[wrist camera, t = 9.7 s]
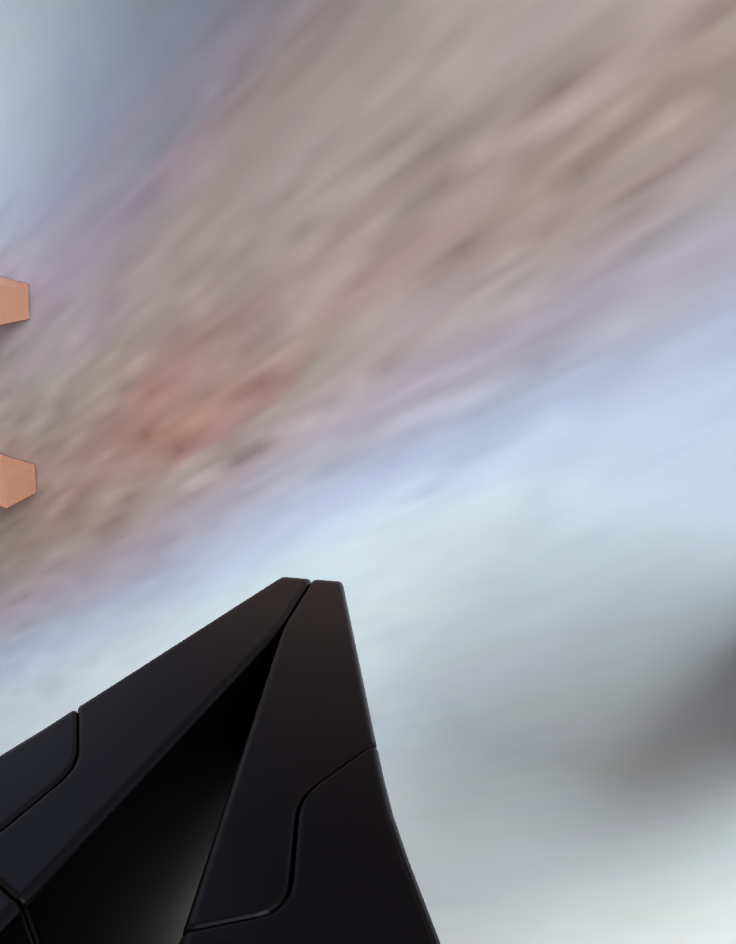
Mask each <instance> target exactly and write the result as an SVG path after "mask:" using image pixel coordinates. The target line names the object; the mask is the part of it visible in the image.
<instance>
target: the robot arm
mask: <svg viewBox="0 0 736 944" xmlns="http://www.w3.org/2000/svg"><path fill="white" fill-rule="evenodd" d="M0 944H440V941H439V939H438V936H437V934H436V931H435V928H434V926H433V923H432V921H431V918H430V915H429V913H428V910H427V908H426V905H425V902H424V900H423V897H422V895H421V892H420V889H419V887H418V884H417V882H416V879H415V876H414V874H413V871H412V869H411V866H410V863H409V861H408V858H407V855H406V852H405V849H404V846H403V843H402V840H401V837H400V834H399V831H398V828H397V825H396V822H395V819H394V816H393V813H392V809H391V805H390V801H389V797H388V794H387V790H386V786H385V782H384V778H383V773H382V768H381V763H380V759H379V754H378V751H377V749H376V741H375V736H374V731H373V727H372V722H371V717H370V712H369V707H368V703H367V698H366V693H365V688H364V683H363V679H362V674H361V669H360V664H359V659H358V655H357V650H356V645H355V640H354V636H353V631H352V626H351V621H350V616H349V612H348V607H347V602H346V597H345V592H344V588H343V585H342V583H341V582H338V581H325V580H314V581H313V582H312V583H311V581H310V580H308V579H301V578H289V577H283V578H281V579H279V580H277V581H275V582H274V583H272V584H271V585H269V586H268V587H266V588H264V589H263V590H261V591H260V592H258V593H257V594H255V595H254V596H252V597H250V598H249V599H247V600H246V601H244V602H243V603H241V604H239V605H238V606H236V607H235V608H233V609H232V610H230V611H228V612H227V613H225V614H224V615H222V616H221V617H219V618H218V619H216V620H214V621H213V622H211V623H210V624H208V625H207V626H205V627H203V628H202V629H200V630H199V631H197V632H196V633H194V634H193V635H191V636H189V637H188V638H186V639H185V640H183V641H182V642H180V643H178V644H177V645H175V646H174V647H172V648H171V649H169V650H168V651H166V652H164V653H163V654H161V655H160V656H158V657H157V658H155V659H153V660H152V661H150V662H149V663H147V664H146V665H144V666H143V667H141V668H139V669H138V670H136V671H135V672H133V673H132V674H130V675H128V676H127V677H125V678H124V679H122V680H121V681H119V682H118V683H116V684H114V685H113V686H111V687H110V688H108V689H107V690H105V691H103V692H102V693H100V694H99V695H97V696H96V697H94V698H93V699H91V700H89V701H88V702H86V703H85V704H83V705H82V706H80V707H79V709H78V713H77V712H76V711H72V712H70V713H69V714H67V715H66V716H64V717H62V718H61V719H59V720H58V721H56V722H55V723H53V724H52V725H50V726H48V727H47V728H45V729H44V730H42V731H40V732H39V733H37V734H36V735H34V736H32V737H31V738H29V739H27V740H26V741H24V742H22V743H21V744H19V745H18V746H16V747H14V748H13V749H11V750H9V751H8V752H6V753H5V754H3V755H1V756H0Z"/></svg>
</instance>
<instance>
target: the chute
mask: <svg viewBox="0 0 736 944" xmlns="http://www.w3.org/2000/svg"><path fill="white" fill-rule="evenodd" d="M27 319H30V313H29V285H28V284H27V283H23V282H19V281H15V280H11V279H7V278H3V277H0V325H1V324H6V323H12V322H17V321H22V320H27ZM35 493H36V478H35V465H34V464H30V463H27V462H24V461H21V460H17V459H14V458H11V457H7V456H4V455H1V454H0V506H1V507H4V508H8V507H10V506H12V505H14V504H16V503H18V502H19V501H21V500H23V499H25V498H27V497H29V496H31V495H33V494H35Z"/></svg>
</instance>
